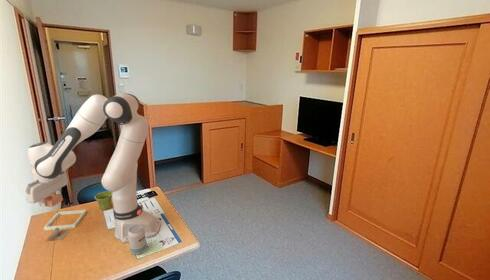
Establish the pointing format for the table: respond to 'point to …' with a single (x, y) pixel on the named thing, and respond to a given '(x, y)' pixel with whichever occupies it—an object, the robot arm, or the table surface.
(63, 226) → the tray
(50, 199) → the orange frame with handle
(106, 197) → the plant pot
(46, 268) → the table surface
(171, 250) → the table surface
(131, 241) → the beverage can
